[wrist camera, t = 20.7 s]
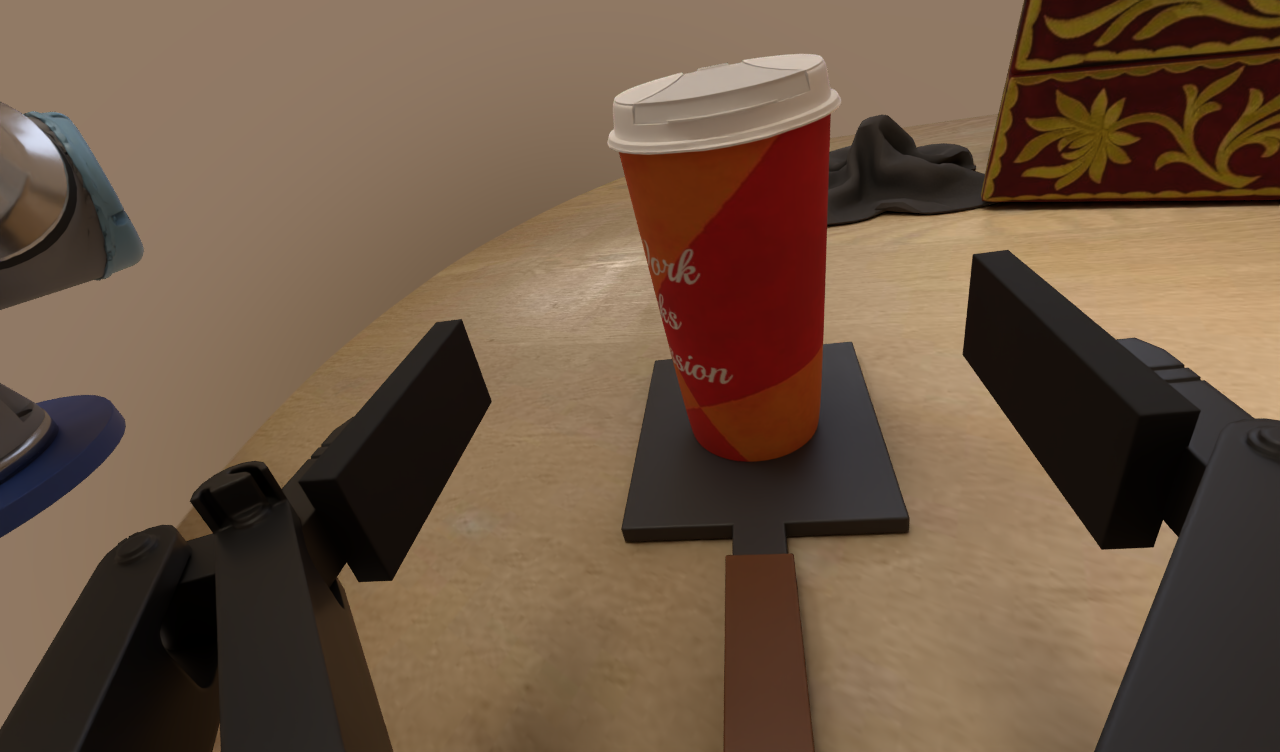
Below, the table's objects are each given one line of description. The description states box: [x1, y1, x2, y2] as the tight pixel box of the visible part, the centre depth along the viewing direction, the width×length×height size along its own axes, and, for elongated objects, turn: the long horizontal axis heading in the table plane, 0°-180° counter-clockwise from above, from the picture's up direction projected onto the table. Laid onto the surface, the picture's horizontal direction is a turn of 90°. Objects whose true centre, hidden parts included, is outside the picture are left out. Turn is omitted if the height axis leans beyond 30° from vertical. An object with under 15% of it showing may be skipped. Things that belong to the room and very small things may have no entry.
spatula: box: [622, 342, 909, 752], centre depth 24 cm, size 11×26×1 cm, turn 173°
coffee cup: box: [607, 54, 841, 462], centre depth 25 cm, size 8×8×15 cm
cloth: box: [827, 115, 998, 225], centre depth 53 cm, size 22×19×6 cm
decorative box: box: [981, 0, 1280, 202], centre depth 42 cm, size 28×19×15 cm
